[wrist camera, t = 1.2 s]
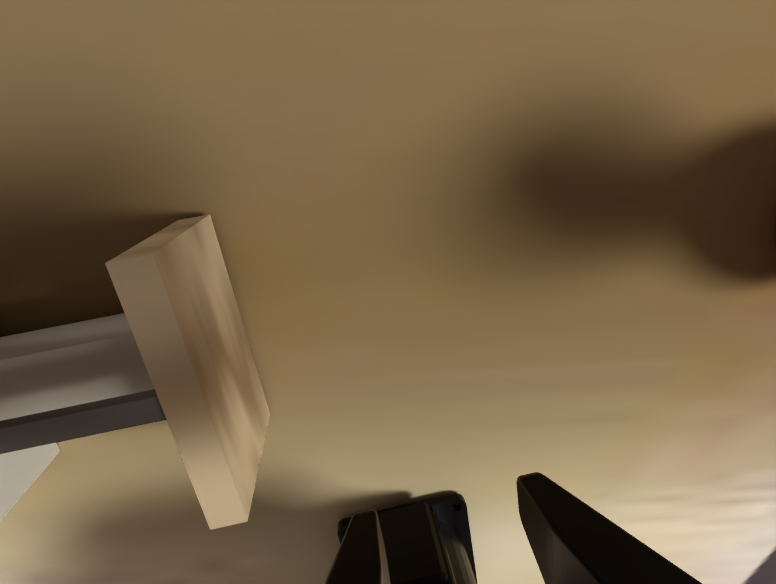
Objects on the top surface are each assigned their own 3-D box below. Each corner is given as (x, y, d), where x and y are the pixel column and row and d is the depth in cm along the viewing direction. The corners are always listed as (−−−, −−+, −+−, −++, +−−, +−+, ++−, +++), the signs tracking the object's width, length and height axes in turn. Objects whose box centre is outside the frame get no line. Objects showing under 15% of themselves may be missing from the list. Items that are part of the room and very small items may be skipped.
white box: (270, 414, 21) (247, 521, 15) (-86, 489, 20) (-253, 633, 14) (209, 214, 17) (152, 254, 12) (-216, 293, 17) (-494, 376, 11)
